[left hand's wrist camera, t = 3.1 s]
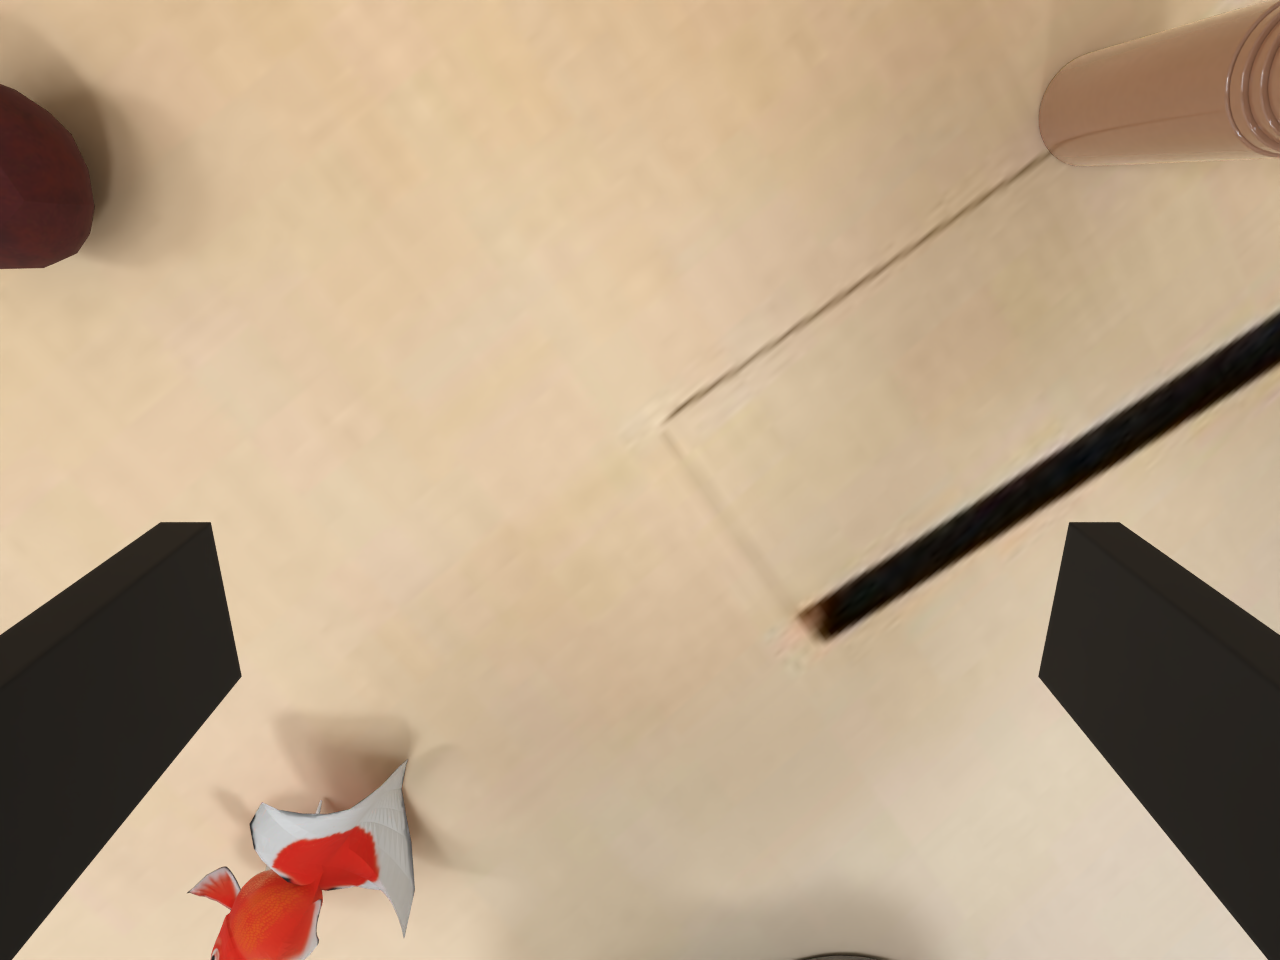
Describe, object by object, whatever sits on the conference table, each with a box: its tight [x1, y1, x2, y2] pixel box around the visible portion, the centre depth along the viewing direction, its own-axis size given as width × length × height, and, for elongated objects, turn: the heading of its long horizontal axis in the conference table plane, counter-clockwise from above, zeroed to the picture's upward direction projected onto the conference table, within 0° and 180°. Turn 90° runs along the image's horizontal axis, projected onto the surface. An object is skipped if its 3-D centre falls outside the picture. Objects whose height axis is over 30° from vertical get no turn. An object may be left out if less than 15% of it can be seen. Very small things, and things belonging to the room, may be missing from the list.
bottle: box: [1039, 0, 1280, 166], centre depth 28 cm, size 5×5×17 cm
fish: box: [188, 759, 415, 960], centre depth 45 cm, size 11×16×10 cm
